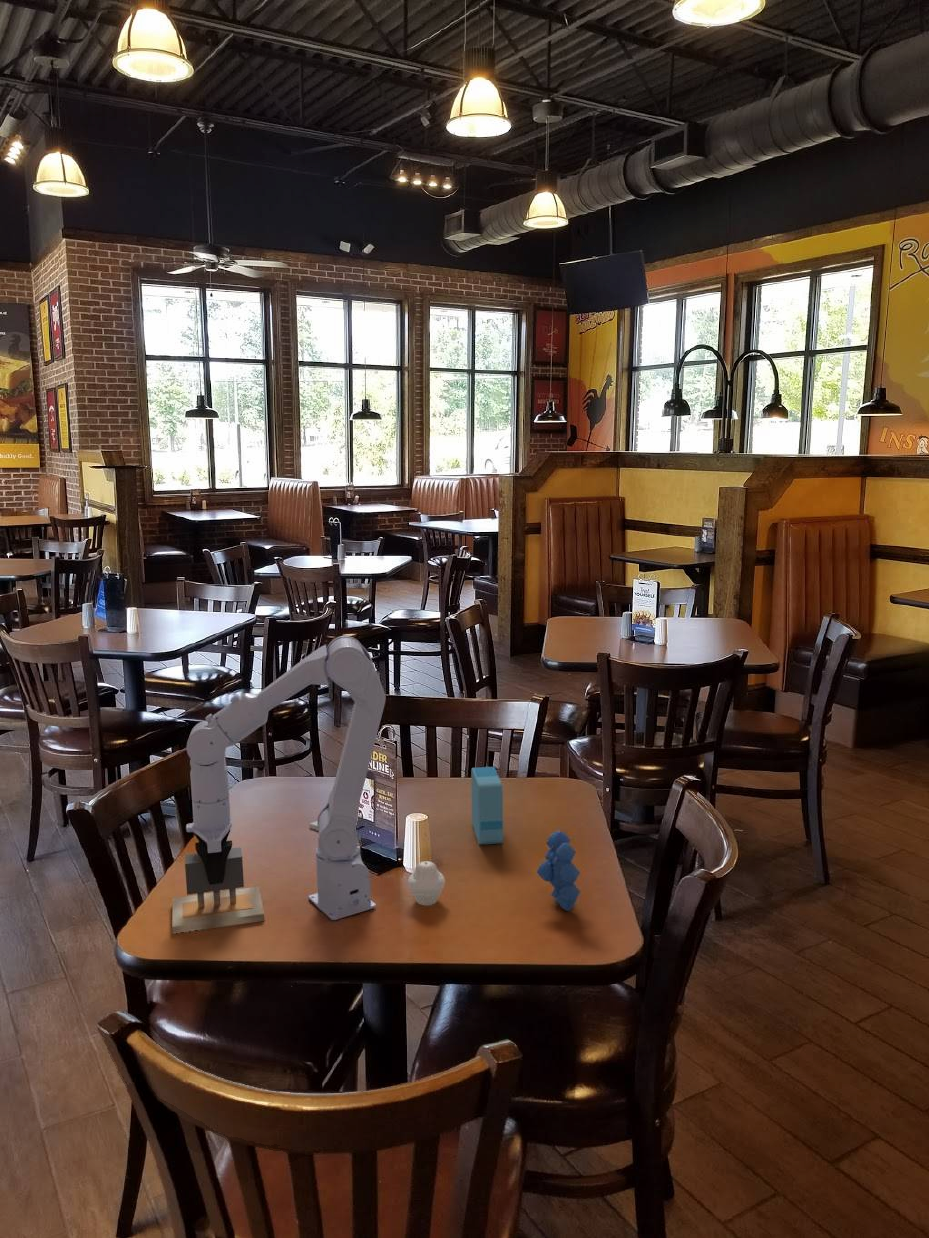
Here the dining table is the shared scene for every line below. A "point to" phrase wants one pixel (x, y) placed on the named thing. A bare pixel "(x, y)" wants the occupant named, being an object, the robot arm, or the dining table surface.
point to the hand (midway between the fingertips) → (215, 877)
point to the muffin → (426, 883)
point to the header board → (217, 909)
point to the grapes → (560, 870)
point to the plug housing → (198, 877)
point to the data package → (487, 805)
